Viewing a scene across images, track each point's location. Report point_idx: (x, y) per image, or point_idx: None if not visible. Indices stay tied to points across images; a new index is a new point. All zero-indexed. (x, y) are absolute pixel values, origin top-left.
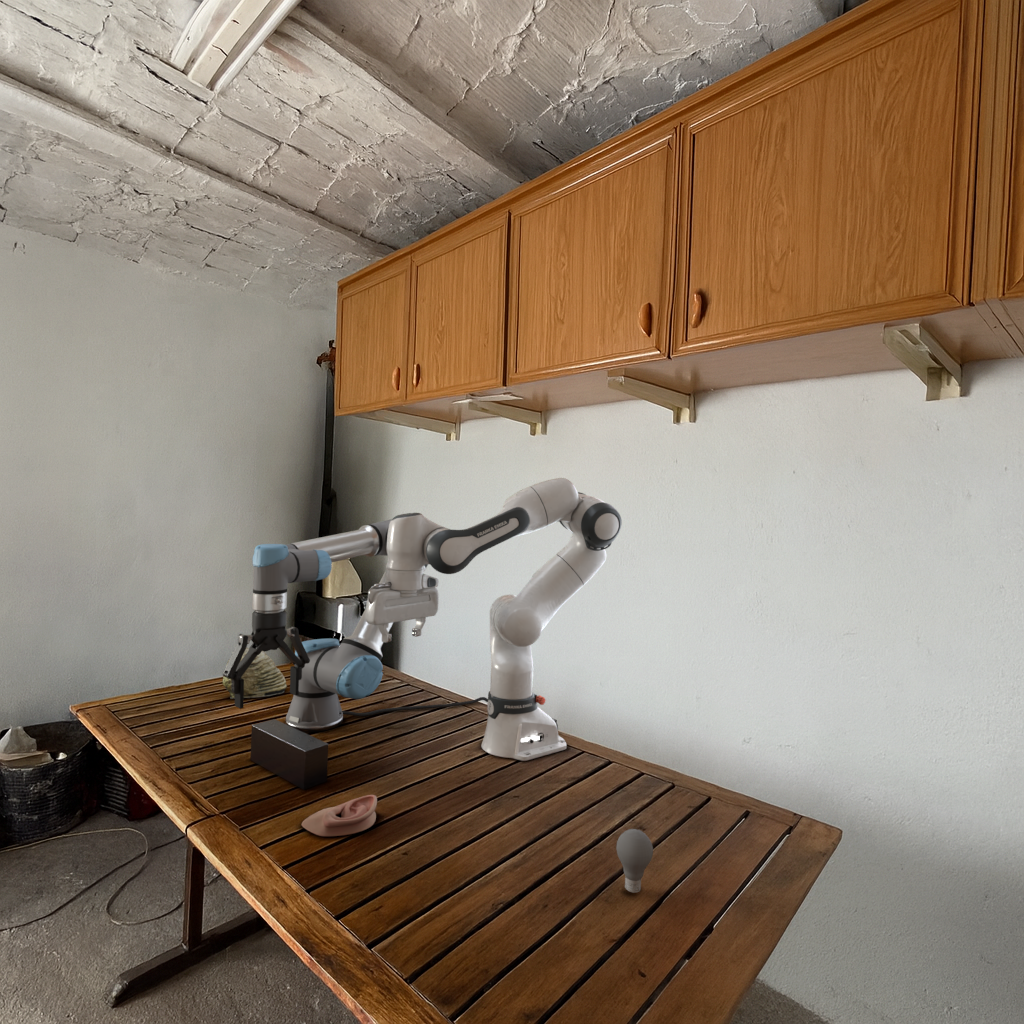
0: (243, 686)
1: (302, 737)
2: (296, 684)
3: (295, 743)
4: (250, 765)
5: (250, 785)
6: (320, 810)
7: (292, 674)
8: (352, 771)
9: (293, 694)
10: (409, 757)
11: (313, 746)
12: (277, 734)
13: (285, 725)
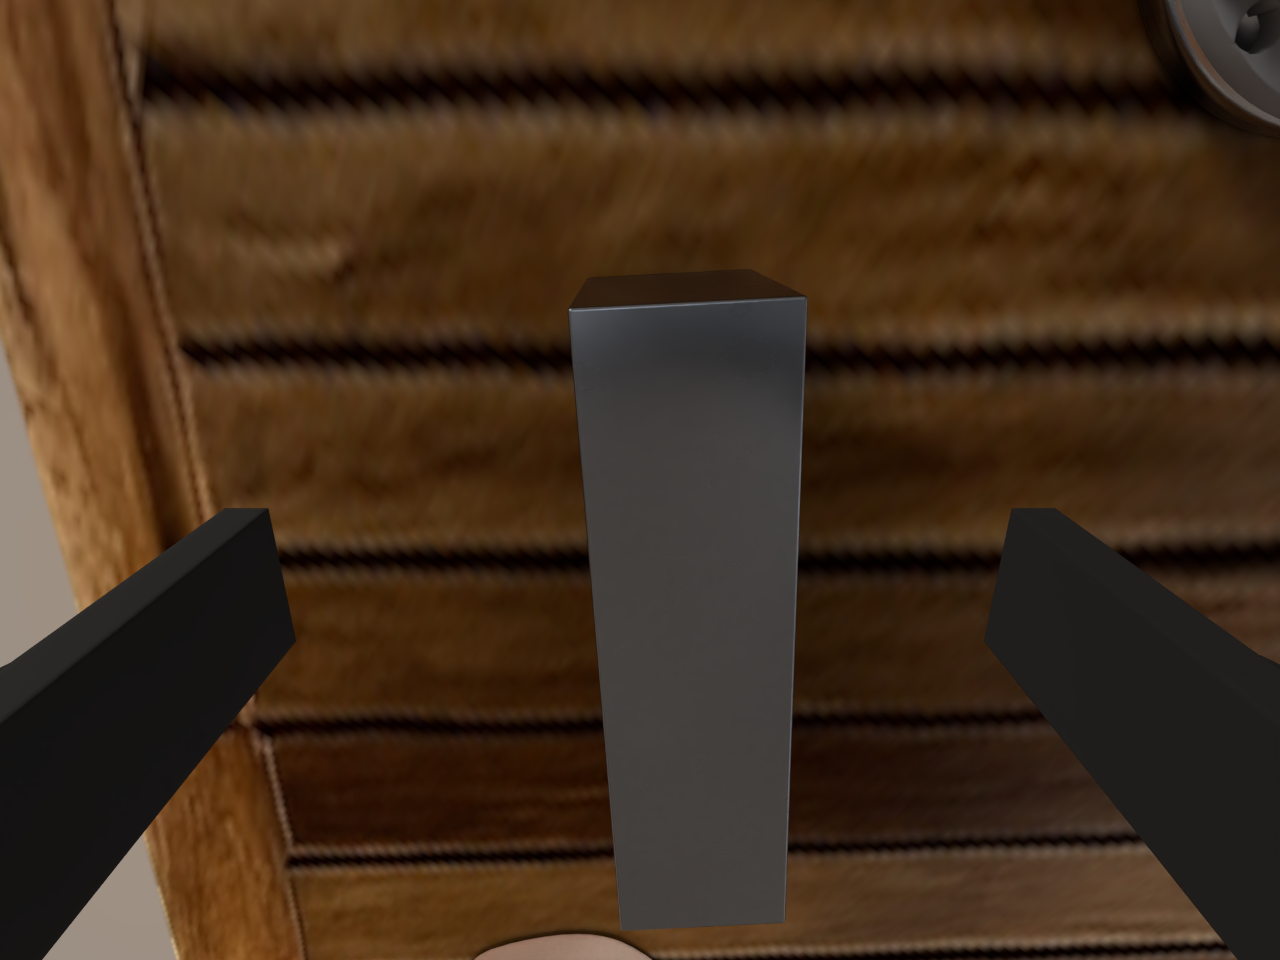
0: (103, 872)
1: (730, 772)
2: (1073, 745)
3: (639, 823)
4: (554, 352)
5: (452, 581)
6: (559, 957)
7: (1202, 754)
8: (896, 743)
9: (995, 593)
10: None
11: (695, 909)
12: (629, 634)
13: (780, 508)
